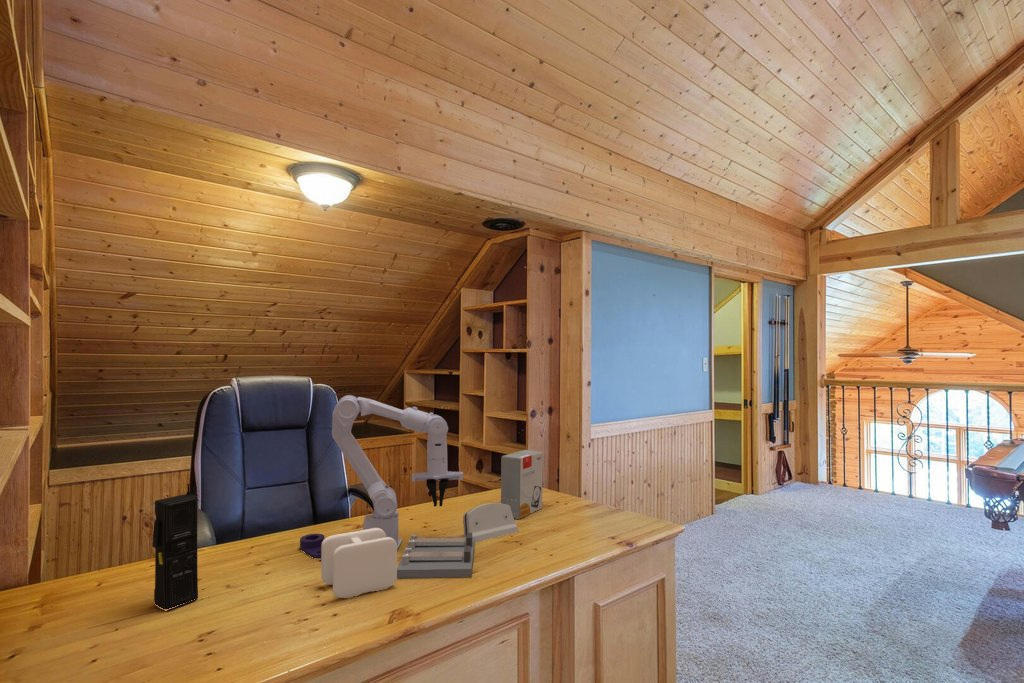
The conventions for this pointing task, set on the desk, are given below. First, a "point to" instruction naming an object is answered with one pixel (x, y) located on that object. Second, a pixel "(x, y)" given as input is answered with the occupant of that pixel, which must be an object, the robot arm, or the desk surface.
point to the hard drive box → (522, 482)
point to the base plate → (438, 561)
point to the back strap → (439, 541)
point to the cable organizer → (359, 562)
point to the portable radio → (175, 550)
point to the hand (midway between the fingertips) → (438, 505)
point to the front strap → (434, 555)
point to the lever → (312, 544)
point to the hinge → (489, 521)
